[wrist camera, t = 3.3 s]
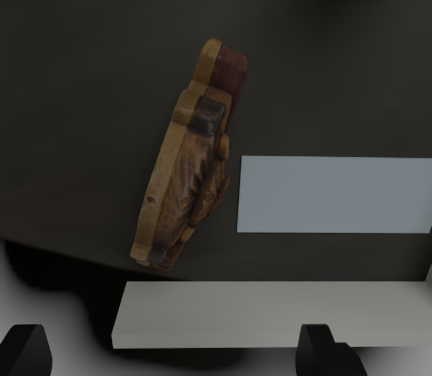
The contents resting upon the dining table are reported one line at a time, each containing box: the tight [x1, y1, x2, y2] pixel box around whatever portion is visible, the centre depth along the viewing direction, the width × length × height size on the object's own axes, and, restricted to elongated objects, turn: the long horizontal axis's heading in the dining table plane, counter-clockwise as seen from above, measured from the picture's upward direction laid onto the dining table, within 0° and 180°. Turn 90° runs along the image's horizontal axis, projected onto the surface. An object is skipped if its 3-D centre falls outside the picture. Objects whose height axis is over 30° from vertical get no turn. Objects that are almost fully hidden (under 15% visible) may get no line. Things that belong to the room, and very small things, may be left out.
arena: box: [112, 264, 432, 348], centre depth 25 cm, size 30×26×6 cm
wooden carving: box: [130, 38, 248, 272], centre depth 22 cm, size 16×5×10 cm, turn 165°
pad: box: [237, 156, 432, 233], centre depth 28 cm, size 17×7×1 cm, turn 89°
